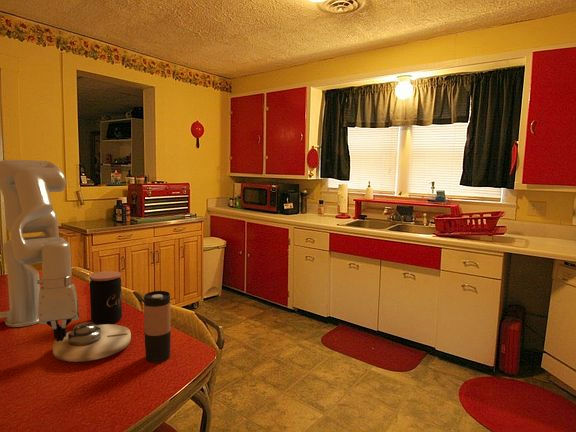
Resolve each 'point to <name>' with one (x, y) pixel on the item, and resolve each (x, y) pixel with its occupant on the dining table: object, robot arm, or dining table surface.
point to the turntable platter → (94, 345)
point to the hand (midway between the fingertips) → (60, 339)
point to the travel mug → (157, 326)
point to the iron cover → (84, 334)
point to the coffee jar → (105, 297)
